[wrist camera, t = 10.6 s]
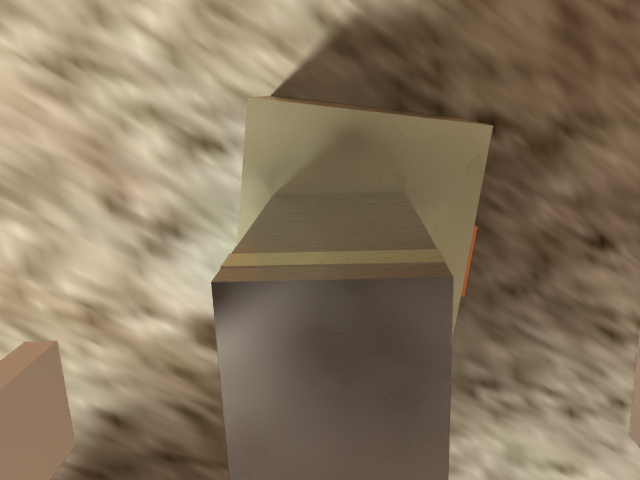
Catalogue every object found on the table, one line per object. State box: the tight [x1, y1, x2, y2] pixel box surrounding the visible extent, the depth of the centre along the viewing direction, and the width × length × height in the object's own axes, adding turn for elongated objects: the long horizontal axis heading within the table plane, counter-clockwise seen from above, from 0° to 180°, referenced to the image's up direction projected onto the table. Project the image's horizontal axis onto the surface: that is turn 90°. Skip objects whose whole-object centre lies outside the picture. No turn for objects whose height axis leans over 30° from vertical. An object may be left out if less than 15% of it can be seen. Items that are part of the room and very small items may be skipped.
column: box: [211, 191, 454, 480], centre depth 17 cm, size 5×5×10 cm
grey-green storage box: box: [237, 96, 493, 341], centre depth 25 cm, size 11×9×6 cm
